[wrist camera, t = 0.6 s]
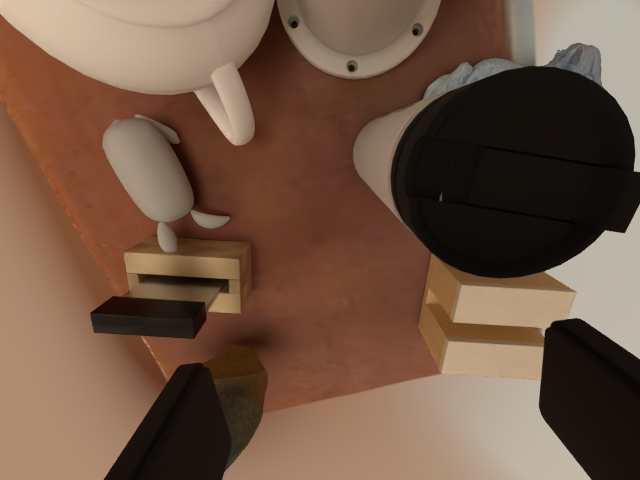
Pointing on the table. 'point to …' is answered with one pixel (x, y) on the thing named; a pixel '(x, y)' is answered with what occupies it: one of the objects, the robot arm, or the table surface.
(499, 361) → the u-shaped wooden stand
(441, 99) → the travel mug
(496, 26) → the table surface
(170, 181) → the rabbit figurine
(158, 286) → the knife
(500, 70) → the figurine
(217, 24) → the teapot
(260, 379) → the decorative stone
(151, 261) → the knife block
